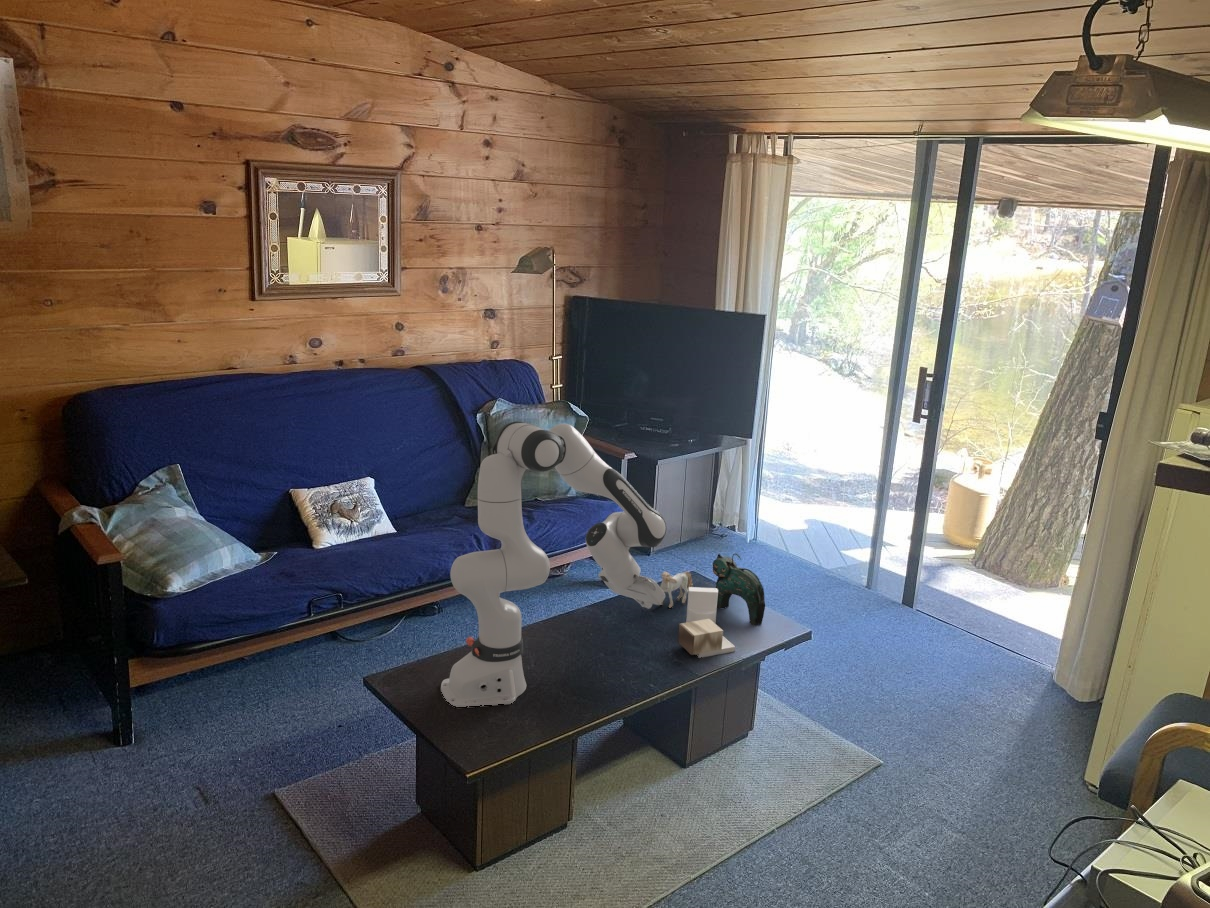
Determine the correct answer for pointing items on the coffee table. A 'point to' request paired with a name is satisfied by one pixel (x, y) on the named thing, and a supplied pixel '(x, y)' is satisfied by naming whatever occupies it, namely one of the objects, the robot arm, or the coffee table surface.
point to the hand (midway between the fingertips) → (647, 606)
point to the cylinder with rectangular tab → (702, 604)
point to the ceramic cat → (739, 587)
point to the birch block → (700, 636)
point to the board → (726, 648)
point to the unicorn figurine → (676, 585)
